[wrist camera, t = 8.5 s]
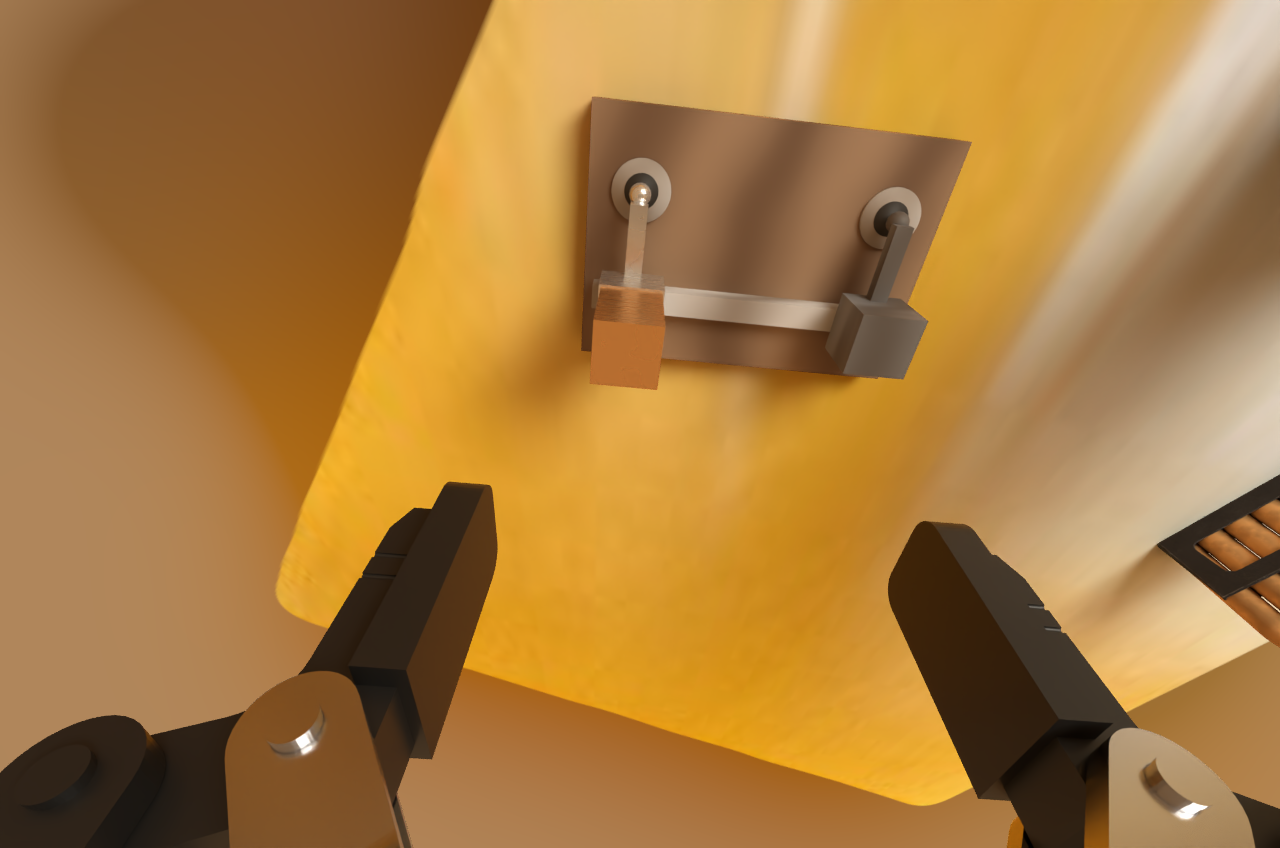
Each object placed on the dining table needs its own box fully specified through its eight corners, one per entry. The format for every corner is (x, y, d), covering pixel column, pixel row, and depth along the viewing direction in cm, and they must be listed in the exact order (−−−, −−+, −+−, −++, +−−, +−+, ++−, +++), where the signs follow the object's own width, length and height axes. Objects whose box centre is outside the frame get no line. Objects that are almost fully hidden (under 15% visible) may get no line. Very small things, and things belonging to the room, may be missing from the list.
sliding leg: (674, 184, 24) (683, 215, 18) (656, 327, 27) (659, 392, 21) (608, 177, 23) (596, 206, 18) (599, 321, 27) (587, 385, 21)
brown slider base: (954, 139, 24) (1027, 150, 20) (867, 366, 31) (907, 415, 26) (594, 96, 23) (582, 97, 19) (584, 339, 30) (572, 384, 25)
